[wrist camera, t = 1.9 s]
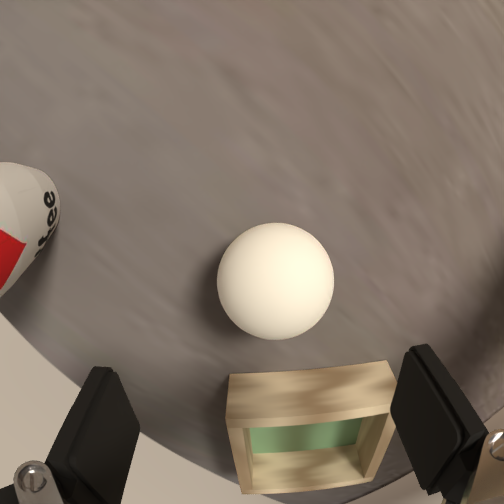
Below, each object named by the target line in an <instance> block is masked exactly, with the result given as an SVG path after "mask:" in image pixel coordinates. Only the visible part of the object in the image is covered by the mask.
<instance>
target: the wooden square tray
mask: <svg viewBox="0 0 504 504" xmlns="http://www.w3.org/2000/svg"><path fill="white" fill-rule="evenodd" d="M396 385H397V381H396V379H395V377H394V375H393V373H392V371H391V369H390V366H389V364H388V362H387V360H384V361H377V362H370V363H363V364H355V365H347V366H339V367H330V368H320V369H309V370H296V371H282V372H265V373H240V374H230V376H229V386H228V396H227V406H226V417H225V420H226V425H227V430H228V435H229V439H230V444H231V449H232V453H233V458H234V462H235V467H236V471H237V475H238V480H239V484H240V488H241V492H242V494H273V493H290V492H302V491H312V490H320V489H328V488H335V487H342V486H348V485H354V484H360V483H365V482H370V481H372V480H373V478H374V476H375V474H376V472H377V470H378V468H379V465H380V463H381V461H382V459H383V457H384V454H385V452H386V450H387V447H388V445H389V442H390V440H391V438H392V435H393V433H394V430H395V427H396V426H395V424H394V421H393V419H392V417H391V413H390V406H391V402H392V399H393V396H394V392H395V389H396Z"/></svg>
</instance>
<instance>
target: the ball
mask: <svg viewBox="0 0 504 504" xmlns="http://www.w3.org/2000/svg"><path fill="white" fill-rule="evenodd" d="M333 288H334V274H333V268H332V265H331V262H330V259H329V256H328V255H327V253H326V251H325V249H324V248H323V247H322V245H321V244H320V243H319V242H318V241H317V240H316V239H315V238H314V237H313V236H312V235H311V234H309V233H308V232H306V231H304V230H303V229H301V228H298V227H296V226H293V225H289V224H284V223H267V224H262V225H258V226H255V227H253V228H250V229H249V230H247V231H245V232H243V233H242V234H241V235H239V236H238V237H237V238H236V239H235V240H234V241H233V242H232V243H231V244H230V245H229V247H228V248H227V249H226V251H225V253H224V255H223V257H222V259H221V262H220V264H219V268H218V275H217V289H218V294H219V299H220V301H221V304H222V306H223V308H224V310H225V312H226V314H227V315H228V316H229V318H230V319H231V320H232V321H233V322H234V323H235V324H236V325H237V326H238V327H239V328H241V329H242V330H244V331H245V332H247V333H249V334H251V335H253V336H256V337H259V338H263V339H269V340H282V339H288V338H292V337H295V336H297V335H300V334H302V333H304V332H305V331H307V330H308V329H310V328H311V327H312V326H314V325H315V324H316V323H317V322H318V321H319V320H320V319H321V317H322V316H323V315H324V313H325V311H326V310H327V308H328V306H329V304H330V301H331V298H332V294H333Z"/></svg>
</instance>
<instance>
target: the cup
mask: <svg viewBox="0 0 504 504" xmlns="http://www.w3.org/2000/svg"><path fill="white" fill-rule="evenodd" d="M59 216H60V200H59V195H58V192H57V189H56V187H55V185H54V183H53V182H52V180H51V179H50V178H49V176H48V175H46V174H45V173H44V172H43V171H41V170H38V169H35V168H31V167H28V166H24V165H20V164H16V163H9V162H0V297H1V296H2V295H3V294H4V293H6V292H7V291H8V290H9V289H10V288H11V287H12V286H13V284H14V283H15V282H16V281H17V279H18V278H19V277H20V276H21V275H22V273H23V272H24V271H25V270H26V269H27V267H28V266H29V265H30V264H31V263H32V262H33V260H34V259H35V258H36V257H37V256H38V255H39V253H40V252H41V251H42V249H43V247H44V246H45V244H46V242H47V241H48V239H49V237H50V236H51V234H52V233H53V231H54V229H55V228H56V226H57V224H58V221H59Z"/></svg>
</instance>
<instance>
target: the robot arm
mask: <svg viewBox="0 0 504 504" xmlns="http://www.w3.org/2000/svg"><path fill="white" fill-rule="evenodd" d="M390 413H391V417H392V419H393V421H394V424H395V426H396V428H397V431H398V433H399V435H400V438H401V440H402V442H403V445H404V447H405V450H406V452H407V454H408V457H409V459H410V462H411V464H412V467H413V469H414V472H415V474H416V477H417V479H418V482H419V484H420V487H421V488H422V489H423V490H425V489H426V491H427V493H428V495H431V494H434V493H437V492H439V491H441V493H442V496H443V501H442V503H441V504H504V429H497V430H494V431H492V432H490V433H489V432H488V431H487V429H486V427H485V426H484V424H483V423H482V421H481V419H480V418H479V416H478V415H477V413H476V412H475V410H474V409H473V407H472V405H471V404H470V402H469V401H468V399H467V398H466V396H465V395H464V393H463V392H462V390H461V389H460V387H459V386H458V385H457V383H456V382H455V380H454V379H453V378H452V377H451V375H450V374H449V372H448V371H447V370H446V368H445V367H444V365H443V364H442V363H441V361H440V360H439V358H438V357H437V356H436V354H435V353H434V351H433V350H432V349H431V347H430V346H429V345H428V344H422V345H417V346H412V347H411V348H410V349H409V352H406V353H405V355H404V359H403V363H402V367H401V371H400V375H399V378H398V382H397V385H396V389H395V392H394V396H393V399H392V402H391V406H390ZM139 433H140V425H139V422H138V420H137V418H136V416H135V414H134V411H133V409H132V407H131V405H130V402H129V400H128V398H127V395H126V393H125V391H124V388H123V386H122V383H121V381H120V379H119V376H118V374H117V373H116V372H113V370H112V369H111V368H110V367H96V366H95V367H93V368H92V370H91V372H90V374H89V376H88V377H87V379H86V381H85V383H84V385H83V387H82V389H81V391H80V392H79V394H78V396H77V398H76V400H75V402H74V404H73V406H72V407H71V409H70V411H69V413H68V415H67V417H66V419H65V421H64V423H63V425H62V427H61V429H60V431H59V433H58V435H57V437H56V440H55V442H54V444H53V446H52V448H51V450H50V452H49V455H48V457H47V459H46V461H45V463H43V462H40V461H28V462H25V463H23V464H22V465H21V466H20V467H18V468H17V470H16V472H15V475H14V484H12V485H9V486H7V487H4V488H1V489H0V504H121V499H122V495H123V492H124V488H125V484H126V480H127V476H128V473H129V469H130V465H131V461H132V458H133V454H134V451H135V447H136V443H137V440H138V436H139Z"/></svg>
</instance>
